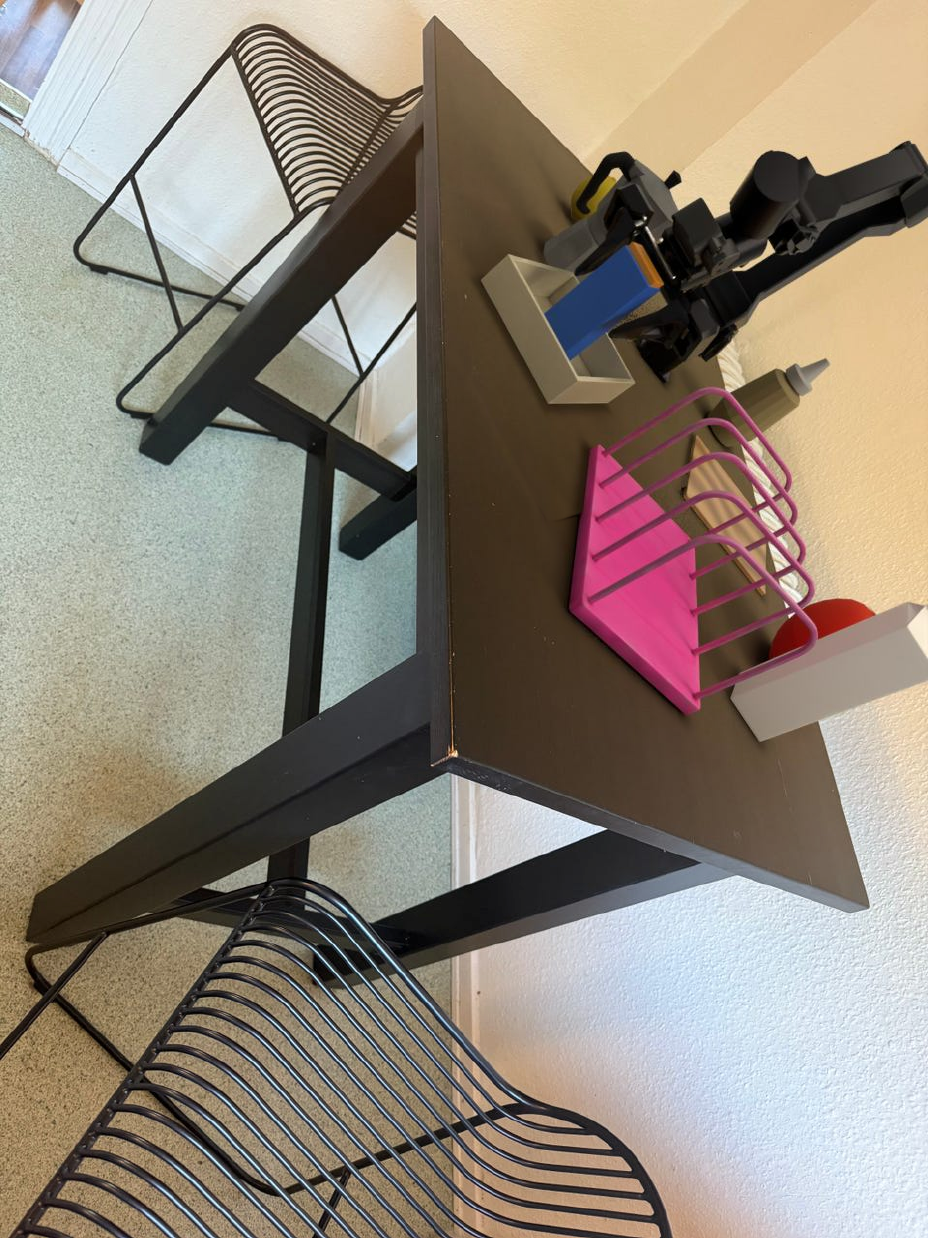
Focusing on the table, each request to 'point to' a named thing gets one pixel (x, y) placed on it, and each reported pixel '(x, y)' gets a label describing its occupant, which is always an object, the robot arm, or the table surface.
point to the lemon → (594, 201)
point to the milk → (838, 673)
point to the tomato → (818, 623)
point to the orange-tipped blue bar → (604, 299)
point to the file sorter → (671, 563)
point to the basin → (552, 334)
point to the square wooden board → (723, 509)
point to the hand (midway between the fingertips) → (592, 303)
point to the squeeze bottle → (765, 400)
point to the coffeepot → (591, 231)
